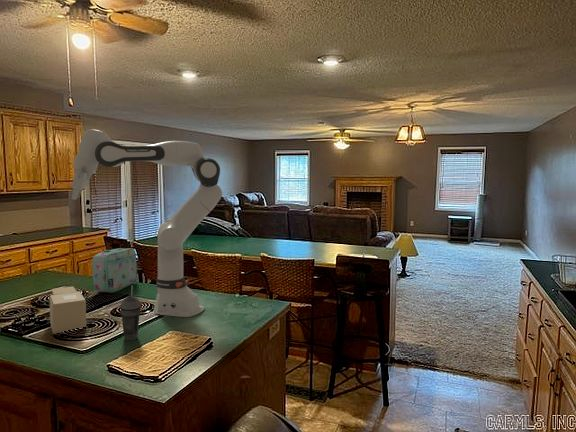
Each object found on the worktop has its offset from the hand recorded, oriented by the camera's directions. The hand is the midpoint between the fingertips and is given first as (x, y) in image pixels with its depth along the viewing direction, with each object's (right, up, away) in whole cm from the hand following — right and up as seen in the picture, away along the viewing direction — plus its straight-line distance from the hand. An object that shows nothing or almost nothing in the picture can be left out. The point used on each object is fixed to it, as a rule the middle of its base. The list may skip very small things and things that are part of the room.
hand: (75, 198), depth 166 cm
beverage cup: (+31, -52, -19) cm, 64 cm away
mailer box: (+3, -50, -11) cm, 52 cm away
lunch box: (-1, -46, +43) cm, 62 cm away
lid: (+1, -39, -8) cm, 40 cm away
